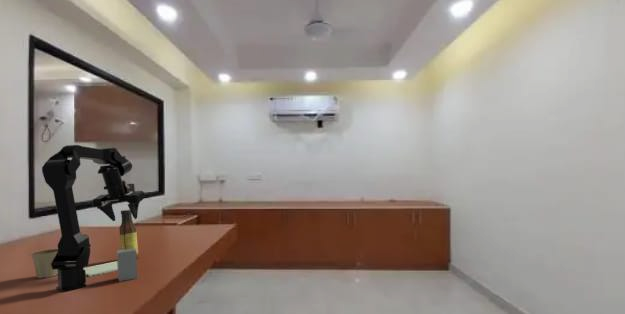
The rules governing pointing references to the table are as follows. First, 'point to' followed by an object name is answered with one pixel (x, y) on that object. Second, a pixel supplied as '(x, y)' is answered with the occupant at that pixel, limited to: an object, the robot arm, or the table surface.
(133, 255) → the grey rectangular block
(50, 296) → the table surface
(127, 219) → the sauce bottle
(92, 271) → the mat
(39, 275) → the flower pot
